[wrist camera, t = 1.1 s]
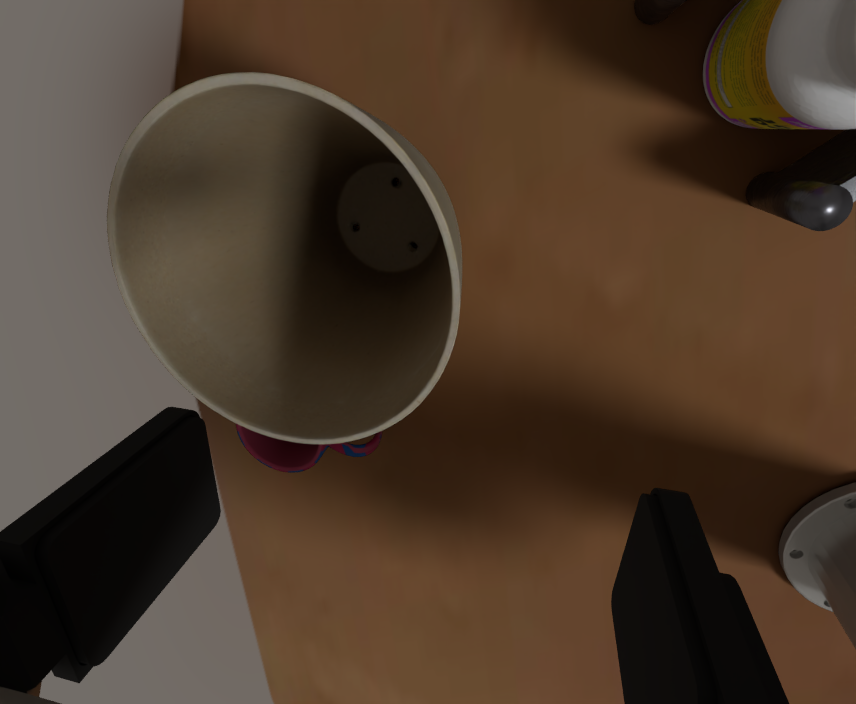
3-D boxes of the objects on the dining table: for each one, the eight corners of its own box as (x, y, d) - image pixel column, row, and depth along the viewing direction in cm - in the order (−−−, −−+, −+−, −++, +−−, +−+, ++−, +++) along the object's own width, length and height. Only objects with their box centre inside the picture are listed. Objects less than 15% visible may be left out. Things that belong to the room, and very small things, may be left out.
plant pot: (274, 96, 32) (56, 73, 18) (506, 96, 29) (469, 70, 15) (297, 313, 38) (151, 424, 24) (489, 330, 35) (453, 468, 21)
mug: (289, 338, 39) (242, 378, 33) (404, 386, 39) (378, 435, 33) (274, 404, 42) (229, 450, 36) (381, 449, 42) (353, 503, 36)
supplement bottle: (698, 141, 28) (806, 152, 16) (698, 4, 25) (825, -95, 14) (839, 112, 26) (1070, 103, 15) (853, -38, 23) (1145, -192, 12)
